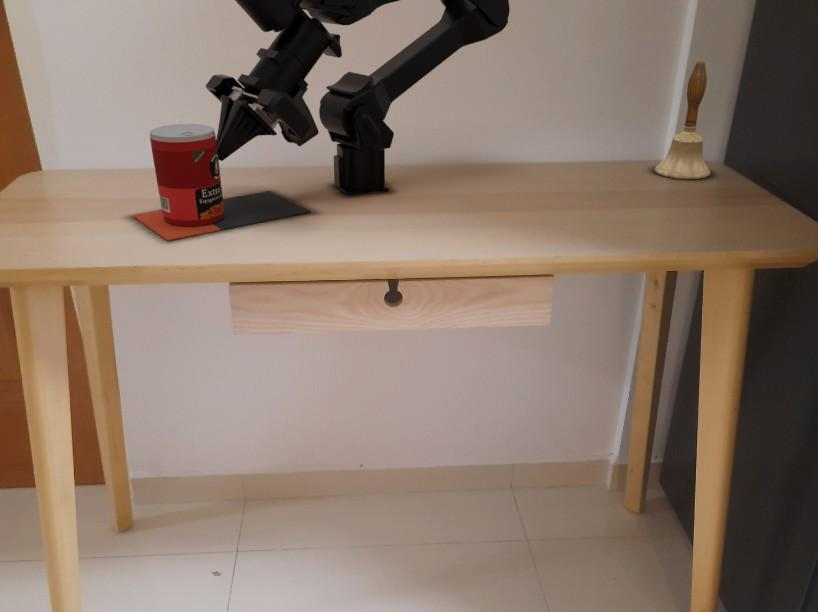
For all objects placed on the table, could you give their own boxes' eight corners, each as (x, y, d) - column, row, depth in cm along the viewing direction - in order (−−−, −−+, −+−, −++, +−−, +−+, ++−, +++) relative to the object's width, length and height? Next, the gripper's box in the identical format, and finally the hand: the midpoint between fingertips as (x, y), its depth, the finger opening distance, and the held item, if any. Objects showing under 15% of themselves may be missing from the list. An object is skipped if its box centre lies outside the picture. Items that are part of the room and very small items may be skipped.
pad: (183, 207, 105) (183, 206, 105) (221, 230, 97) (221, 228, 97) (132, 216, 102) (132, 215, 101) (167, 241, 93) (167, 239, 93)
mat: (269, 192, 112) (269, 191, 111) (311, 212, 103) (311, 211, 103) (183, 207, 105) (183, 206, 105) (221, 230, 97) (221, 228, 97)
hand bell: (682, 182, 117) (703, 67, 108) (643, 169, 123) (660, 60, 115) (721, 175, 120) (745, 63, 112) (681, 164, 126) (701, 57, 118)
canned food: (211, 229, 96) (199, 137, 91) (152, 225, 98) (136, 135, 92) (234, 211, 103) (224, 124, 97) (178, 207, 104) (166, 122, 99)
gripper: (367, 114, 98) (294, 213, 98) (294, 94, 111) (230, 182, 111) (310, 48, 90) (232, 156, 90) (239, 35, 103) (170, 130, 103)
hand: (217, 158), depth 99 cm, fingers closed, pressing on canned food
